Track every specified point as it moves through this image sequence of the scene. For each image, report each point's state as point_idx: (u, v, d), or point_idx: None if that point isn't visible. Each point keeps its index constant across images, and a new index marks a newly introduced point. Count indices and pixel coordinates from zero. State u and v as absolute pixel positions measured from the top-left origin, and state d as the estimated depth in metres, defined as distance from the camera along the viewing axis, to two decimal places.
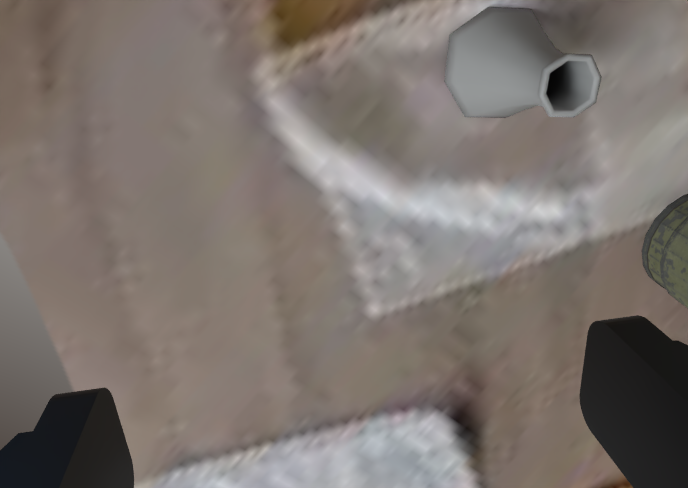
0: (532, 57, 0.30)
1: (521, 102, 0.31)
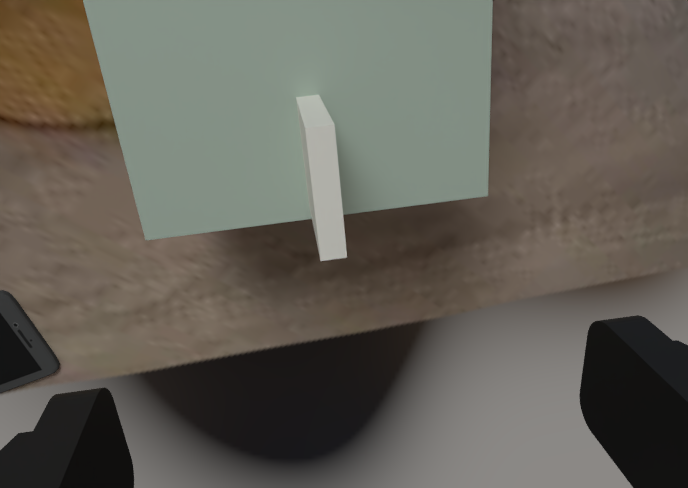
0: None
1: None
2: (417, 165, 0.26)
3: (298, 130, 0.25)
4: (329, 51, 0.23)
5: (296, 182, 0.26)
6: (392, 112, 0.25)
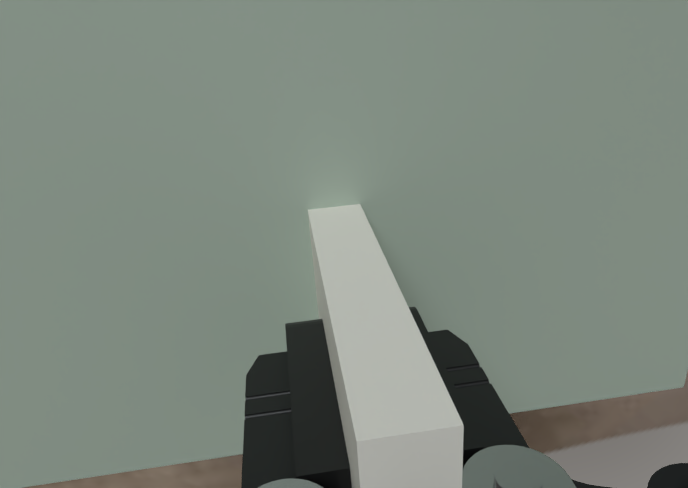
0: None
1: None
2: (556, 338, 0.12)
3: (311, 278, 0.11)
4: (389, 110, 0.10)
5: None
6: (518, 238, 0.11)
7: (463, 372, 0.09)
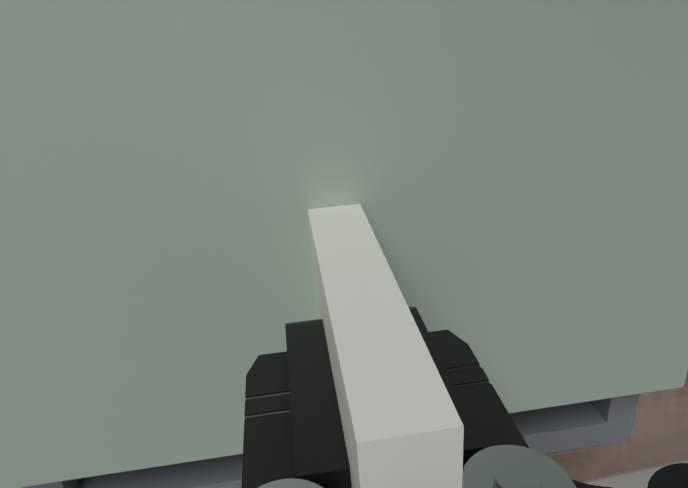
0: None
1: None
2: (556, 338, 0.12)
3: (311, 277, 0.11)
4: (390, 109, 0.10)
5: None
6: (518, 238, 0.11)
7: (463, 372, 0.09)
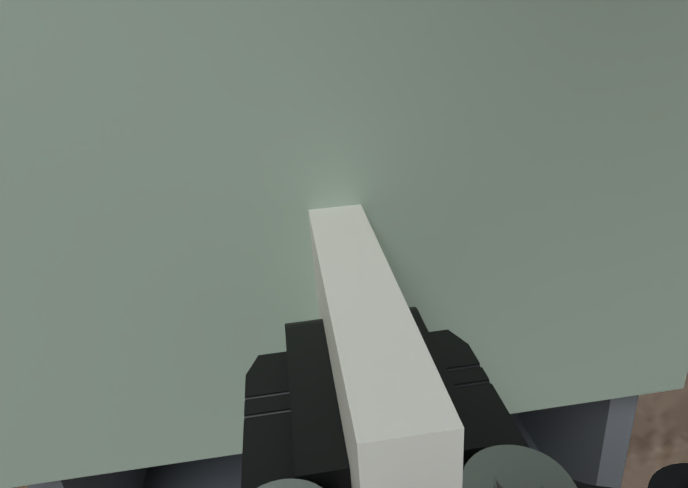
0: None
1: None
2: (556, 339, 0.12)
3: (311, 278, 0.11)
4: (390, 109, 0.10)
5: None
6: (518, 239, 0.11)
7: (463, 372, 0.09)
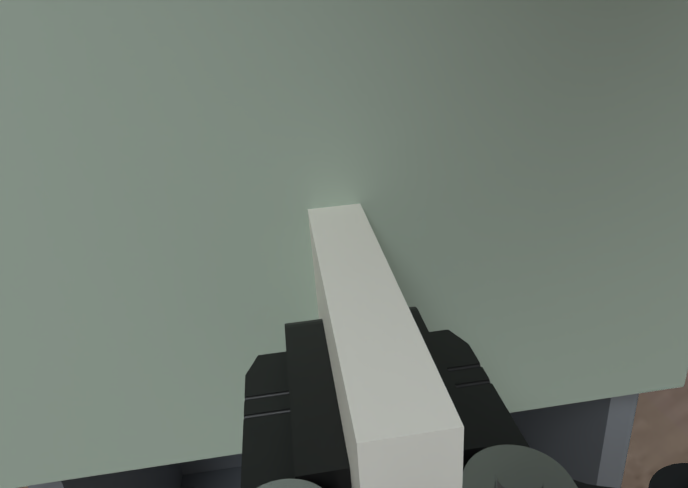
0: None
1: None
2: (556, 338, 0.12)
3: (311, 277, 0.11)
4: (389, 109, 0.10)
5: None
6: (518, 238, 0.11)
7: (464, 372, 0.09)
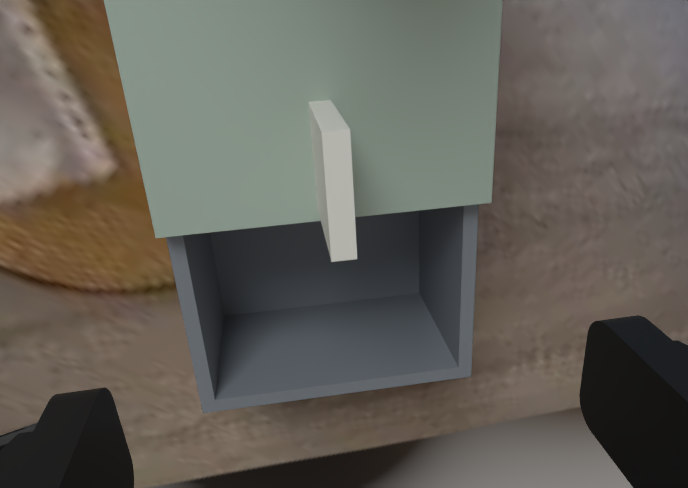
0: None
1: None
2: (423, 171, 0.27)
3: (309, 134, 0.25)
4: (342, 58, 0.24)
5: (306, 184, 0.26)
6: (401, 119, 0.26)
7: None
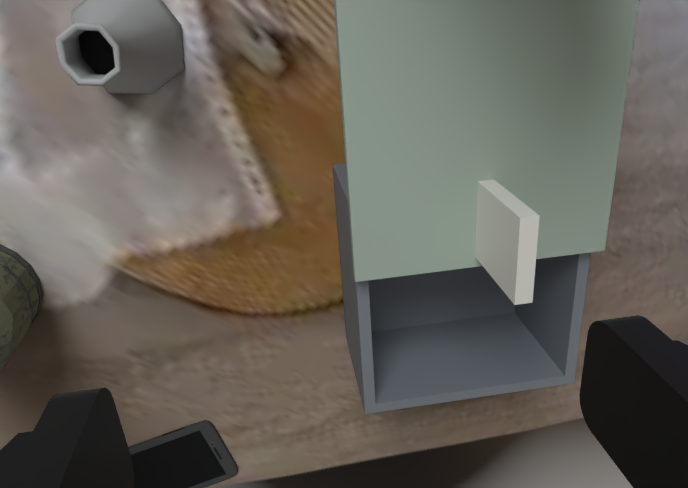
0: (121, 33, 0.31)
1: None
2: (556, 229, 0.35)
3: (476, 204, 0.34)
4: (505, 150, 0.32)
5: (469, 240, 0.35)
6: (543, 191, 0.34)
7: None
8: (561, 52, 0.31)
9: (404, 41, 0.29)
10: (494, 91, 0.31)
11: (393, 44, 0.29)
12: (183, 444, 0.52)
